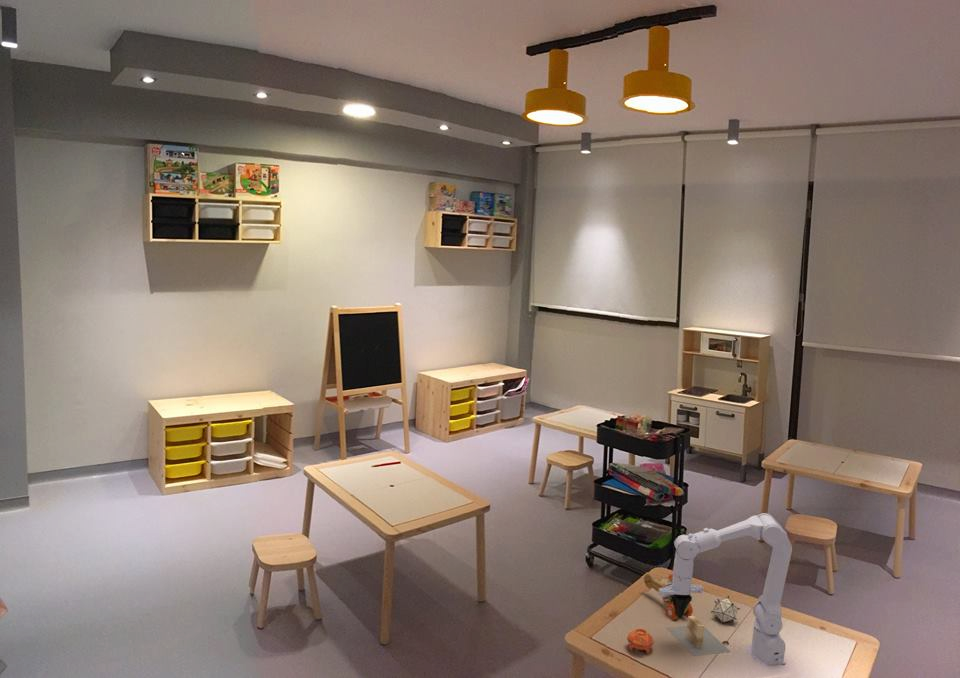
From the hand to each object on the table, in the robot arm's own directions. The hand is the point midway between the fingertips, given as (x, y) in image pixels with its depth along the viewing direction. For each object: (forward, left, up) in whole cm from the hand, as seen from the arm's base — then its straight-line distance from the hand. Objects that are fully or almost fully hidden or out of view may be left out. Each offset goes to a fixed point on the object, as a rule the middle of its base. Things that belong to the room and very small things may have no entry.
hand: (678, 615), depth 217 cm
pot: (0, +12, -10) cm, 16 cm away
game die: (+10, -24, -10) cm, 28 cm away
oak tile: (0, -6, -9) cm, 11 cm away
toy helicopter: (+21, -9, -10) cm, 25 cm away
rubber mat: (+1, -8, -10) cm, 13 cm away
